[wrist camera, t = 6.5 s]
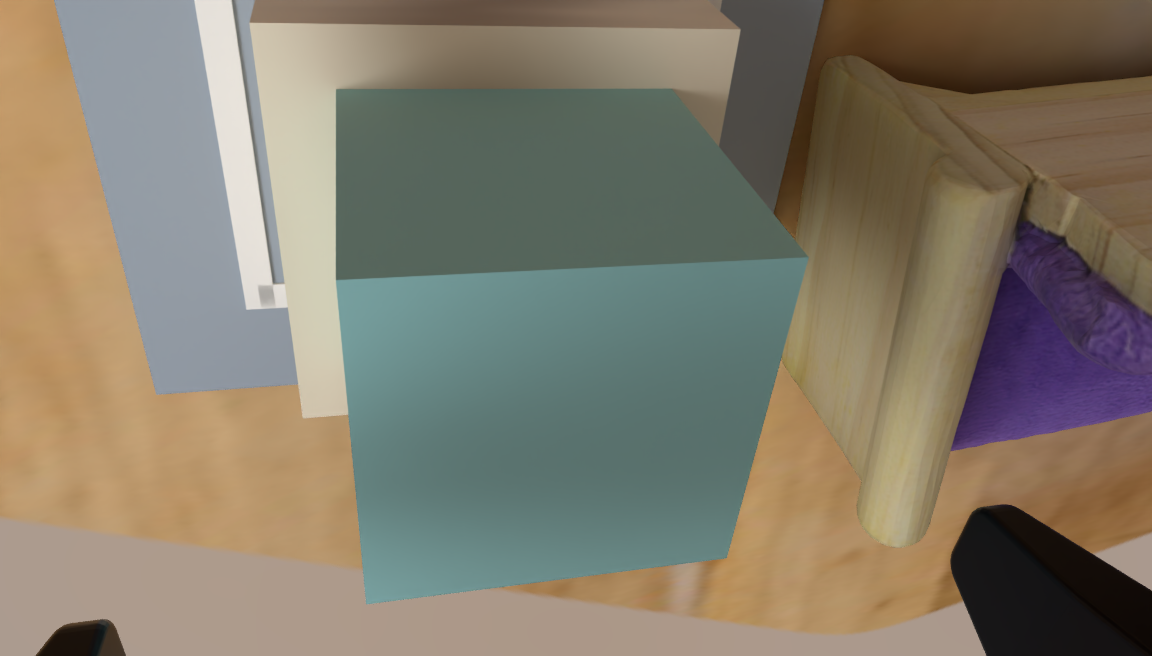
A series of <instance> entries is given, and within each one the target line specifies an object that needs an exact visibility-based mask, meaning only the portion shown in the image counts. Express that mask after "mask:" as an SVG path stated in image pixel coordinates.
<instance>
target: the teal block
mask: <svg viewBox="0 0 1152 656" xmlns="http://www.w3.org/2000/svg"><path fill="white" fill-rule="evenodd" d="M808 259H809V257H808V256H807V254H806V253H805V252H804V251H803V250H802V248H801V247H800V246H799V245H798V243H797V242H796V241H795V240H794V238H793V237H792V236H791V235H790V234H789V232H788V231H787V230H786V229H785V227H784V226H783V225H782V224H781V222H780V221H779V220H778V219H777V218H776V216H775V215H774V214H773V213H772V211H771V210H770V209H769V208H768V206H767V205H766V204H765V203H764V202H763V200H762V199H761V198H760V197H759V195H758V194H757V193H756V192H755V190H754V189H753V188H752V187H751V186H750V184H749V183H748V182H747V181H746V179H745V178H744V177H743V176H742V175H741V173H740V172H739V171H738V170H737V168H736V167H735V166H734V165H733V163H732V162H731V161H730V160H729V159H728V157H727V156H726V155H725V154H724V152H723V151H722V150H721V149H720V147H719V146H718V145H717V144H716V143H715V141H714V140H713V139H712V138H711V136H710V135H709V134H708V133H707V131H706V130H705V129H704V128H703V127H702V125H701V124H700V123H699V122H698V120H697V119H696V118H695V117H694V115H693V114H692V113H691V112H690V111H689V109H688V108H687V107H686V106H685V104H684V103H683V102H682V101H681V99H680V98H679V97H678V96H677V95H676V93H675V92H674V91H673V90H672V89H336V288H337V299H338V309H339V320H340V331H341V341H342V352H343V362H344V373H345V384H346V394H347V405H348V415H349V426H350V437H351V447H352V458H353V468H354V479H355V490H356V500H357V511H358V521H359V532H360V543H361V553H362V564H363V574H364V585H365V595H366V604H372V603H380V602H387V601H396V600H404V599H412V598H419V597H427V596H435V595H442V594H451V593H459V592H466V591H473V590H482V589H490V588H498V587H505V586H513V585H521V584H529V583H537V582H544V581H552V580H560V579H568V578H576V577H584V576H591V575H599V574H607V573H615V572H623V571H630V570H638V569H646V568H654V567H662V566H669V565H677V564H685V563H693V562H701V561H709V560H716V559H724V558H727V555H728V551H729V548H730V544H731V540H732V537H733V533H734V529H735V526H736V522H737V518H738V515H739V511H740V507H741V504H742V500H743V496H744V493H745V489H746V485H747V482H748V478H749V474H750V471H751V467H752V463H753V460H754V456H755V452H756V449H757V445H758V441H759V438H760V434H761V431H762V427H763V423H764V420H765V416H766V412H767V409H768V405H769V401H770V398H771V394H772V390H773V387H774V383H775V379H776V376H777V372H778V368H779V365H780V361H781V357H782V354H783V350H784V346H785V343H786V339H787V335H788V332H789V328H790V324H791V321H792V317H793V313H794V310H795V306H796V303H797V299H798V295H799V292H800V288H801V284H802V281H803V277H804V273H805V270H806V266H807V262H808Z"/></svg>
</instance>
